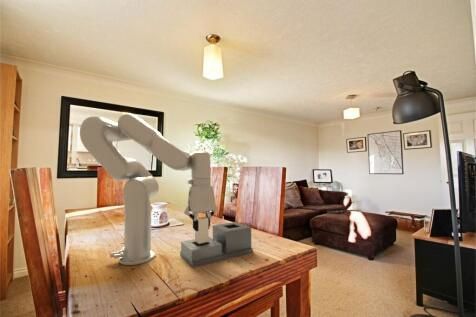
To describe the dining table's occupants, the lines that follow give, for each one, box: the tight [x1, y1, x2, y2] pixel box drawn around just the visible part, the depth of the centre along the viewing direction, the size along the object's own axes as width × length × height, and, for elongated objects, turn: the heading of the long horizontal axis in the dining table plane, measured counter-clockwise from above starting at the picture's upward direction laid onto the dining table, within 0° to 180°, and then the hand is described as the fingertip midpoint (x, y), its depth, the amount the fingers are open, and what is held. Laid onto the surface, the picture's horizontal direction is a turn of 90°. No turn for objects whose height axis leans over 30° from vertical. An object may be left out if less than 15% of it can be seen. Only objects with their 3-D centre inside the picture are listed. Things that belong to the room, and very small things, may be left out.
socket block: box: [179, 221, 254, 268], centre depth 90 cm, size 26×14×10 cm, turn 122°
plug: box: [194, 215, 210, 244], centre depth 87 cm, size 4×5×10 cm
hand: (201, 229), depth 86 cm, fingers closed on plug, 4 cm apart
